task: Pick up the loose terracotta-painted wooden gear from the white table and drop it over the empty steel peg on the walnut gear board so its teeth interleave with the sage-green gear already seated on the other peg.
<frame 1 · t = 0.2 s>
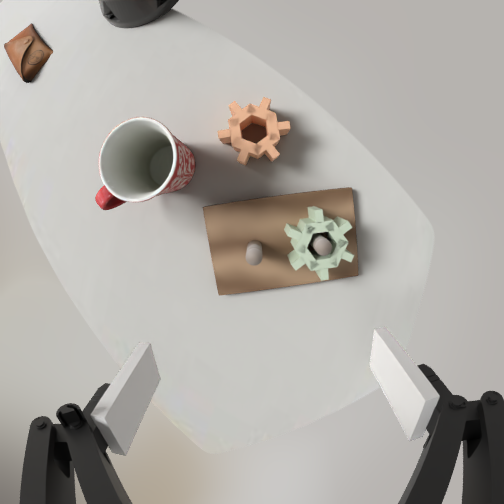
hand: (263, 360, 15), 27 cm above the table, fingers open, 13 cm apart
sunglasses case: (31, 51, 34), on the table
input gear: (254, 135, 38), on the table
mug: (162, 173, 40), on the table
gear board: (283, 240, 41), on the table
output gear: (314, 238, 40), point 1 cm above the table, touching gear board
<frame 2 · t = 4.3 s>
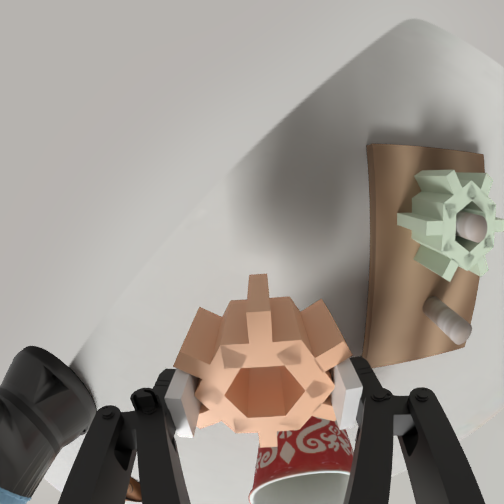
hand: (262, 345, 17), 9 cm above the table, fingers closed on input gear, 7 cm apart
sunglasses case: (111, 479, 38), on the table
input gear: (263, 342, 17), point 8 cm above the table, touching gripper
mug: (303, 403, 29), on the table
gear board: (428, 259, 24), on the table
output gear: (438, 217, 21), point 1 cm above the table, touching gear board
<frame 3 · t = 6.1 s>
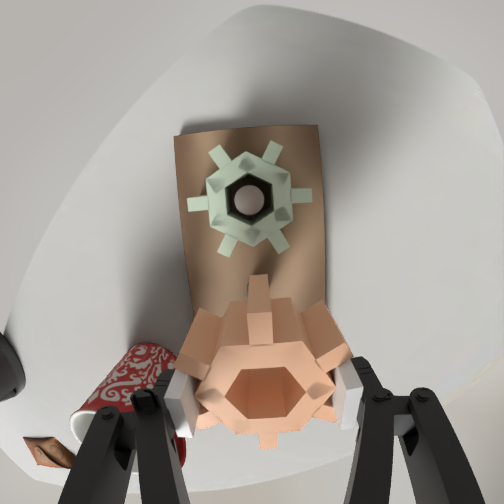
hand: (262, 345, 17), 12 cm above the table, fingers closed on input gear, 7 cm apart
sunglasses case: (50, 447, 39), on the table
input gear: (263, 343, 17), point 12 cm above the table, touching gripper
mug: (162, 376, 32), on the table
gear board: (254, 240, 28), on the table
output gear: (250, 196, 25), point 1 cm above the table, touching gear board
when the fingers open (2 cm above the table, at t = 8.0 s): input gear stays where it is, resting on gear board.
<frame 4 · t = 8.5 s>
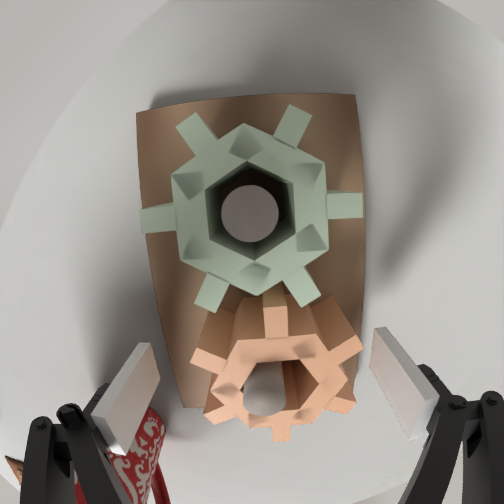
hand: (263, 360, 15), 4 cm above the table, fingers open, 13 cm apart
sunglasses case: (33, 471, 30), on the table
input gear: (274, 338, 18), point 1 cm above the table, touching gear board
mug: (141, 429, 23), on the table
gear board: (258, 269, 18), on the table
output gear: (252, 203, 16), point 1 cm above the table, touching gear board
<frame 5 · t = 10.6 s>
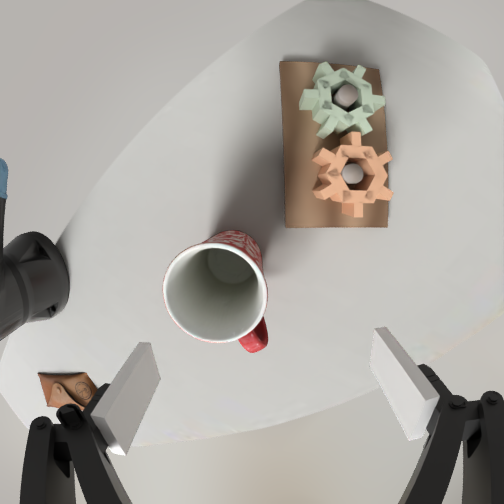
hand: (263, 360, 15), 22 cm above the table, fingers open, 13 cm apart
sunglasses case: (70, 387, 45), on the table
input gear: (345, 175, 32), point 1 cm above the table, touching gear board
mug: (238, 269, 37), on the table
gear board: (335, 142, 33), on the table
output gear: (335, 107, 30), point 1 cm above the table, touching gear board
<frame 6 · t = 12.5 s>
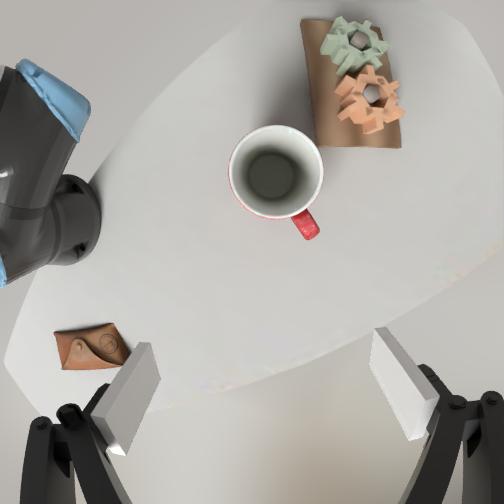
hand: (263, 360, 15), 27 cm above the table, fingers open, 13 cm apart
sunglasses case: (90, 344, 47), on the table
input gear: (362, 104, 35), point 1 cm above the table, touching gear board
mug: (276, 187, 39), on the table
gear board: (350, 81, 35), on the table
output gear: (349, 53, 33), point 1 cm above the table, touching gear board
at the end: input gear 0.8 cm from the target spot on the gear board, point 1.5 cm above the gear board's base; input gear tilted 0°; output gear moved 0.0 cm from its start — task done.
